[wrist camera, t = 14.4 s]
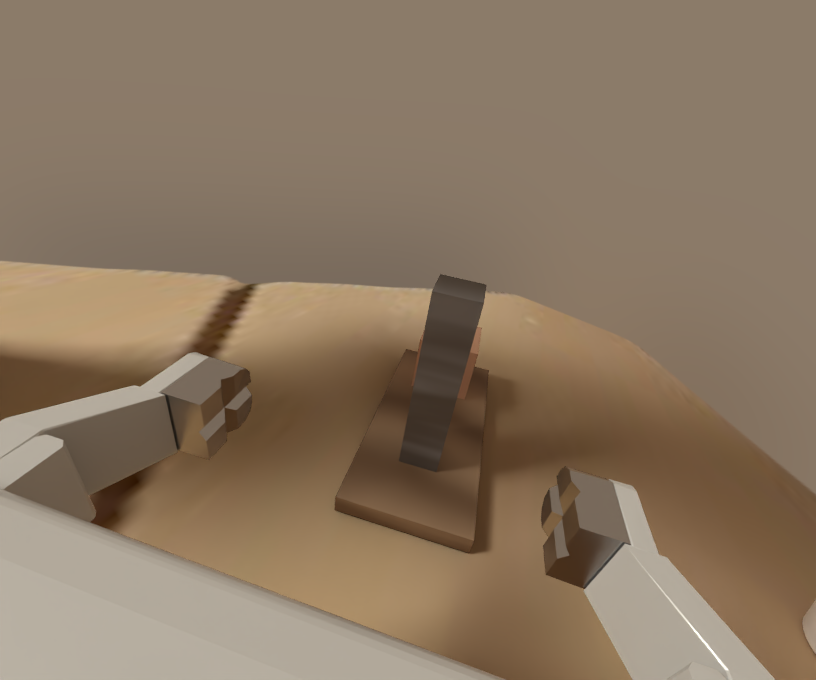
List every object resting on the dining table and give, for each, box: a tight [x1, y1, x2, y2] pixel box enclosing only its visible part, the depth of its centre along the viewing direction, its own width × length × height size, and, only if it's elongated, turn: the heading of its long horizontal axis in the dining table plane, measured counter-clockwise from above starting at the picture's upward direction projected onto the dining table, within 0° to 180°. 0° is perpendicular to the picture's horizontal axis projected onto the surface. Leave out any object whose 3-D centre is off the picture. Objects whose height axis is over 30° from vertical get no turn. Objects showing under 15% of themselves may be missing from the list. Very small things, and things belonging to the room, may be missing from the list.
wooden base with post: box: [335, 275, 489, 553], centre depth 25 cm, size 17×8×13 cm, turn 167°
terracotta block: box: [411, 327, 482, 400], centre depth 31 cm, size 4×4×4 cm
